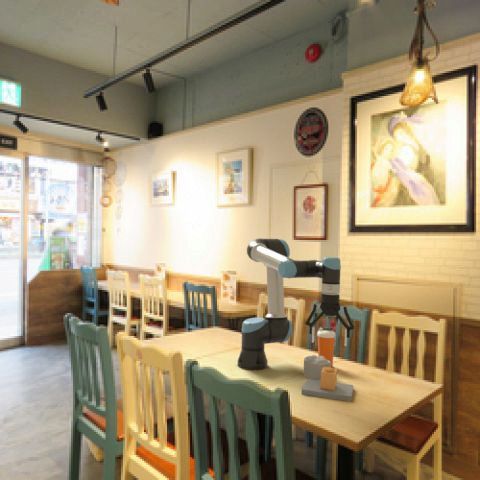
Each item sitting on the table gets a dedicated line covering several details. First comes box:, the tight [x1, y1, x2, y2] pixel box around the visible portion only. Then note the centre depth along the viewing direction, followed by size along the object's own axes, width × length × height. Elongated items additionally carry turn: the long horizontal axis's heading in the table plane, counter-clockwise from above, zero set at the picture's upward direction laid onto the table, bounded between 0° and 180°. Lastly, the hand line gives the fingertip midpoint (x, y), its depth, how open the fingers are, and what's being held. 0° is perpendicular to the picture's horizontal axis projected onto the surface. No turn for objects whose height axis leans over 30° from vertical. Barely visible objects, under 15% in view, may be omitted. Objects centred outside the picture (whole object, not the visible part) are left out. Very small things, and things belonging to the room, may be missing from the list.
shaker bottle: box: [317, 325, 336, 368], centre depth 207 cm, size 9×9×20 cm
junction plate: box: [301, 378, 354, 402], centre depth 172 cm, size 20×14×7 cm
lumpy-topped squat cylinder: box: [303, 354, 331, 381], centre depth 193 cm, size 10×13×9 cm
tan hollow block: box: [320, 367, 338, 391], centre depth 171 cm, size 6×6×8 cm
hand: (329, 343), depth 172 cm, fingers open, 13 cm apart
